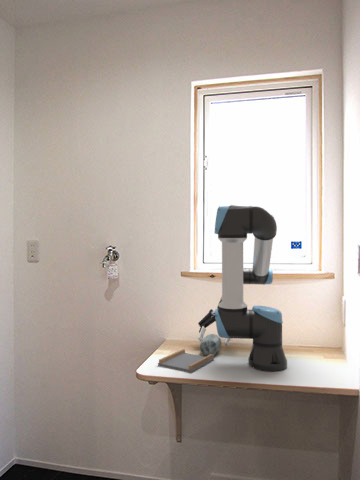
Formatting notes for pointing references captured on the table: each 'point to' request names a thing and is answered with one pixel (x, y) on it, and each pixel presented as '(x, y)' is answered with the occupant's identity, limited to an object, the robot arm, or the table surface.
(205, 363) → the slot board
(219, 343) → the grey thick cylinder
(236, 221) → the robot arm
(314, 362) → the table surface
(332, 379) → the table surface
